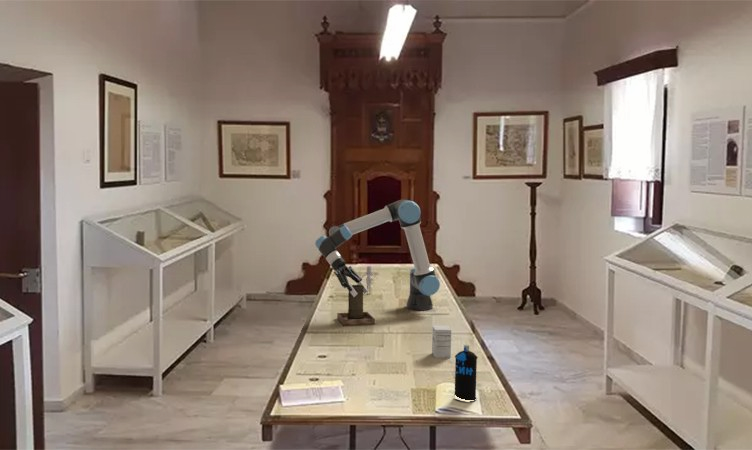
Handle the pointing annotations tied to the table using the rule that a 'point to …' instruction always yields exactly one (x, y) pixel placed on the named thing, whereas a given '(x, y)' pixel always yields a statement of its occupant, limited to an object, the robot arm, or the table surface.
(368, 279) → the human figurine
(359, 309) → the container
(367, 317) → the walnut tray
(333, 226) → the robot arm
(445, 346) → the supplement box
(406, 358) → the table surface
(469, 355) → the aerosol can
